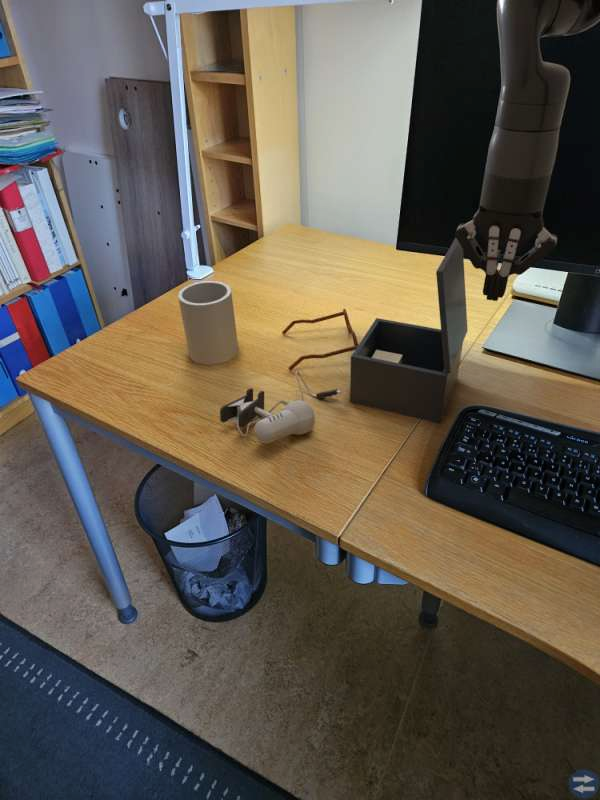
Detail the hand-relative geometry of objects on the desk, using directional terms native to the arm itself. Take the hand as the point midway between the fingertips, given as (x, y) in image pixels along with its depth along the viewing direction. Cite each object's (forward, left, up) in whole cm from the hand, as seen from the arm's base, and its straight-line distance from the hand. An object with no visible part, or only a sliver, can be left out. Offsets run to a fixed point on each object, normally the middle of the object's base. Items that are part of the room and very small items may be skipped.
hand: (492, 297), depth 77 cm
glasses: (+29, -7, -19) cm, 35 cm away
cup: (+47, +1, -19) cm, 51 cm away
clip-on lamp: (+26, +14, -19) cm, 35 cm away
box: (+11, 0, -19) cm, 22 cm away
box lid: (+6, 0, -2) cm, 6 cm away
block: (+15, 0, -18) cm, 23 cm away
